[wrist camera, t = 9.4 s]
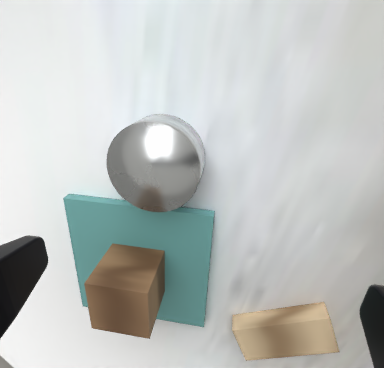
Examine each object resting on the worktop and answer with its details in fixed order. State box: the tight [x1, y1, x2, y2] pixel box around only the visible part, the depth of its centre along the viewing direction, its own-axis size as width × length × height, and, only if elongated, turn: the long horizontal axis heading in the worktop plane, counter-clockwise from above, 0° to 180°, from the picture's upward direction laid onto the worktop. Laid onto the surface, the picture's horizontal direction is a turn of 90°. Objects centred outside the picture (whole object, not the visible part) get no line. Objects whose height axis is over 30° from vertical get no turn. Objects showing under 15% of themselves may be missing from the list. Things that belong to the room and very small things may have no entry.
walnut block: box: [84, 243, 165, 339], centre depth 21 cm, size 4×4×4 cm
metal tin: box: [107, 114, 205, 212], centre depth 18 cm, size 6×6×3 cm
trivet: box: [63, 194, 215, 327], centre depth 23 cm, size 12×12×1 cm
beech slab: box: [232, 302, 339, 361], centre depth 23 cm, size 8×4×2 cm, turn 112°
